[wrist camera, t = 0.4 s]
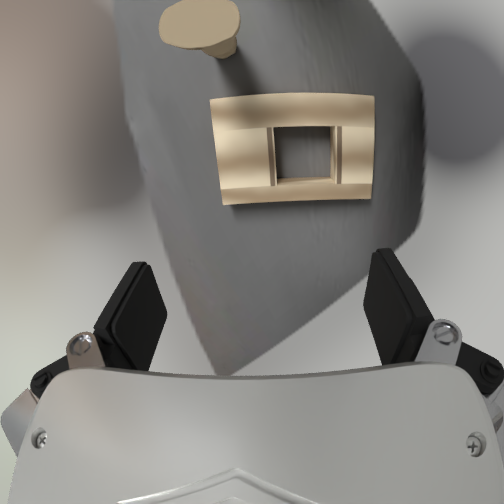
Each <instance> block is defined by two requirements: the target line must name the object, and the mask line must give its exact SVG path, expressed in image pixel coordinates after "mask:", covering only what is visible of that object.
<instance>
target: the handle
mask: <svg viewBox="0 0 504 504" xmlns="http://www.w3.org/2000/svg"><path fill="white" fill-rule="evenodd" d="M239 28H240V14H239V10H238V8H237V6H236V5H235V4H234V3H233V2H231V1H228V0H182V1H180V2H178V3H176V4H174V5H172V6H170V7H169V8H167V9H166V10H165V11H164V12H163V14H162V16H161V18H160V22H159V33H160V37H161V38H162V40H163V41H164V43H167V44H170V45H173V46H176V47H179V48H183V49H187V50H202V51H203V52H204V53H206V54H208V55H210V56H212V57H215V58H220V59H226V58H227V57H228V56H230V55H232V54H235V52H236V47H237V39H236V35H237V33H238V31H239Z"/></svg>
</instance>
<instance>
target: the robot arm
mask: <svg viewBox="0 0 504 504" xmlns="http://www.w3.org/2000/svg"><path fill="white" fill-rule="evenodd" d="M363 306H364V311H365V314H366V317H367V319H368V322H369V325H370V328H371V331H372V334H373V337H374V340H375V344H376V347H377V350H378V353H379V356H380V360H381V363H382V366H375V367H367V368H359V369H350V370H342V371H332V372H322V373H308V374H292V375H270V376H212V375H188V374H173V373H160V372H150V371H148V370H149V367H150V364H151V361H152V358H153V356H154V352H155V350H156V346H157V344H158V341H159V338H160V335H161V332H162V330H163V327H164V324H165V321H166V319H167V310H166V307H165V305H164V302H163V299H162V296H161V294H160V291H159V288H158V286H157V283H156V280H155V277H154V274H153V271H152V269H151V266H150V265H147V263H146V262H133V263H132V264H131V265H130V267H129V268H128V270H127V272H126V273H125V275H124V276H123V278H122V280H121V281H120V283H119V284H118V286H117V288H116V289H115V291H114V293H113V294H112V296H111V298H110V300H109V301H108V303H107V304H106V306H105V308H104V309H103V311H102V313H101V315H100V316H99V318H98V320H97V322H96V324H95V325H94V329H95V331H94V333H93V334H92V333H90V332H82V333H79V334H77V335H75V336H74V337H73V338H72V339H71V340H70V341H69V343H68V345H67V347H66V353H67V355H66V356H64V357H62V358H61V359H59V360H57V361H55V362H53V363H52V364H50V365H48V366H47V367H45V368H43V369H41V370H40V371H38V372H37V373H36V374H35V375H34V376H33V378H32V380H31V384H30V387H31V389H30V390H29V389H28V388H27V389H26V390H25V391H24V392H23V393H22V394H21V395H20V396H19V397H18V398H17V399H15V401H13V403H11V405H10V406H9V407H7V408H6V410H5V411H4V412H3V413H2V416H1V425H2V428H3V430H4V432H5V434H6V436H7V438H8V440H9V442H10V444H11V446H12V448H13V450H14V452H15V454H16V456H17V461H16V465H15V469H14V473H13V478H12V482H11V487H10V493H9V498H8V504H504V369H503V367H502V364H501V363H500V362H499V361H498V360H497V359H495V358H494V357H491V356H490V355H488V354H486V353H484V352H481V351H479V350H478V349H476V348H474V347H472V346H470V345H468V344H466V343H464V342H462V333H461V330H460V329H459V327H458V326H457V325H456V324H455V323H453V322H451V321H449V320H445V319H438V320H434V318H433V316H432V314H431V312H430V310H429V309H428V307H427V305H426V303H425V301H424V300H423V298H422V296H421V294H420V293H419V291H418V289H417V287H416V286H415V284H414V282H413V281H412V280H411V278H409V276H408V275H407V273H406V272H405V270H404V268H403V267H402V265H401V264H400V262H399V260H398V259H397V257H396V256H395V254H394V252H393V251H392V249H391V248H382V249H377V250H376V252H374V253H373V254H372V258H371V264H370V270H369V276H368V282H367V287H366V292H365V297H364V303H363Z"/></svg>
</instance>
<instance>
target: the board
mask: <svg viewBox="0 0 504 504" xmlns="http://www.w3.org/2000/svg"><path fill="white" fill-rule="evenodd" d="M210 106H211V115H212V123H213V131H214V140H215V147H216V155H217V163H218V171H219V178H220V186H221V193H222V200H223V205H229V204H243V203H259V202H277V201H299V200H329V199H371V191H372V178H373V161H374V126H375V111H374V96H369V95H357V94H339V93H277V94H259V95H246V96H236V97H226V98H218V99H211V100H210ZM289 126H330V149H331V168H330V177H304V178H280V179H277V178H276V162H275V146H274V132H273V127H289Z"/></svg>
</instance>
